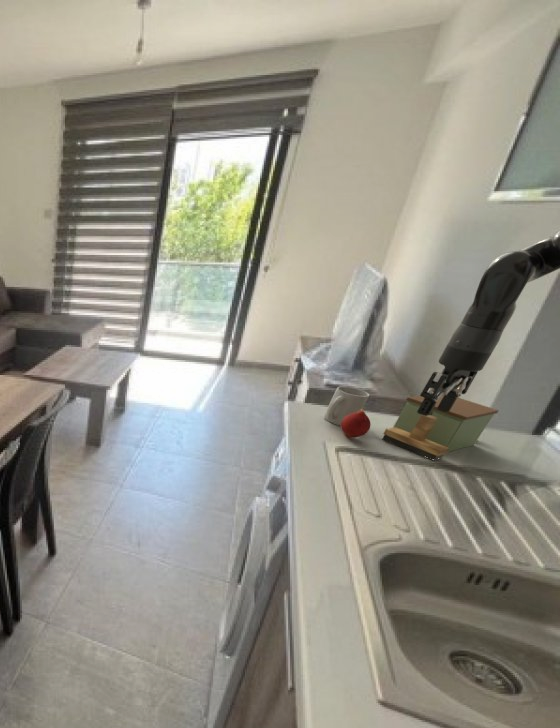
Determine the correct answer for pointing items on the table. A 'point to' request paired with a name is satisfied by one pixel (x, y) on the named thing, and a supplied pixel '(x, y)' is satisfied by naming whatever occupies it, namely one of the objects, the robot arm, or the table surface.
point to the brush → (417, 438)
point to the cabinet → (449, 421)
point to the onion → (355, 424)
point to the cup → (345, 403)
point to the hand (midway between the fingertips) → (432, 412)
